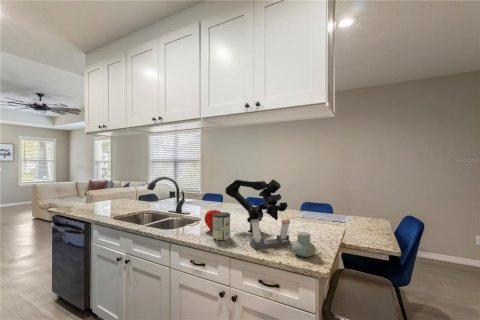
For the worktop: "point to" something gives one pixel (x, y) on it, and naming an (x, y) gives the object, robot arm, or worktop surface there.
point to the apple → (210, 218)
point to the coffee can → (221, 226)
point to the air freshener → (303, 245)
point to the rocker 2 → (284, 228)
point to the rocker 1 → (256, 230)
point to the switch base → (270, 242)
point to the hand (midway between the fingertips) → (276, 219)
